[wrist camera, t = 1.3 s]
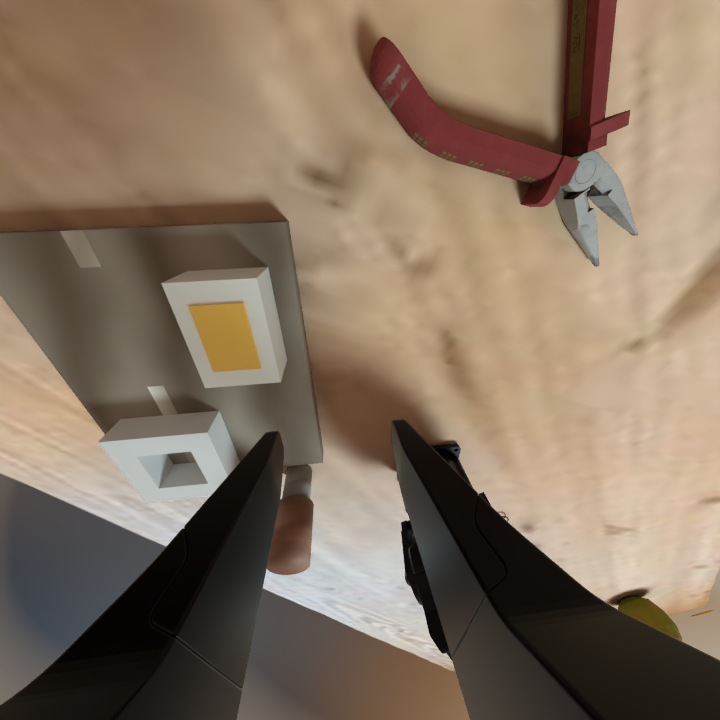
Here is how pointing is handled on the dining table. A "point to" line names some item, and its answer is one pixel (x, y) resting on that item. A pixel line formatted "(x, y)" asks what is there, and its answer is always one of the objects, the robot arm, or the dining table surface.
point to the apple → (649, 615)
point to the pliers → (525, 162)
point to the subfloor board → (158, 325)
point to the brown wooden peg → (293, 524)
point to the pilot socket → (172, 435)
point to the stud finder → (229, 325)
